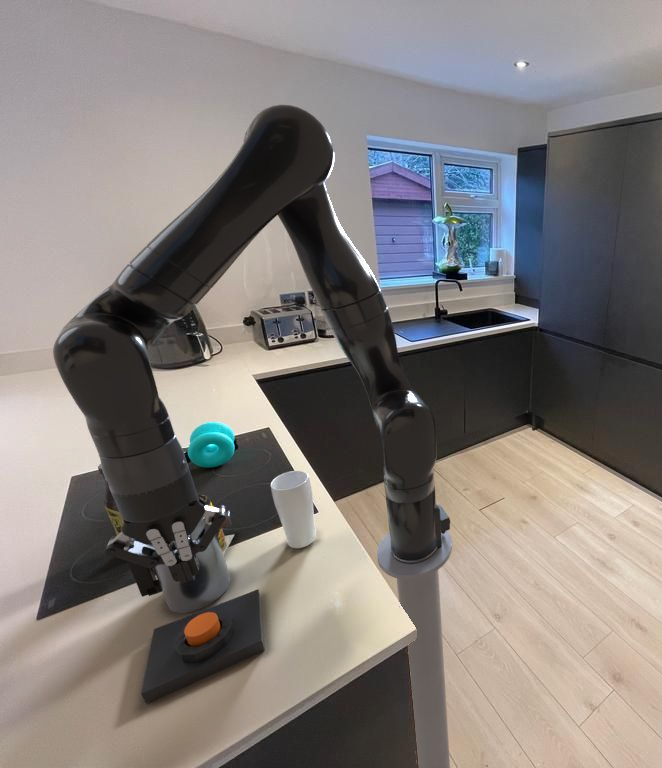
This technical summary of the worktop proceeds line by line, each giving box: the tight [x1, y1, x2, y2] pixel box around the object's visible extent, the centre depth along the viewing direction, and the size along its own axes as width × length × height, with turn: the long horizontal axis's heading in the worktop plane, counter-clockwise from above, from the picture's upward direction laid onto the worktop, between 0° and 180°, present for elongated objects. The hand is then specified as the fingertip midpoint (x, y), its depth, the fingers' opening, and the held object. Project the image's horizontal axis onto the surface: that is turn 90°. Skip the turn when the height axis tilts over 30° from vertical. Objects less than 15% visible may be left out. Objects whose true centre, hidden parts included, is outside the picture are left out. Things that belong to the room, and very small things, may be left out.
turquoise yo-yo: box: [187, 421, 235, 468], centre depth 109 cm, size 10×10×10 cm
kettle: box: [126, 504, 233, 614], centre depth 68 cm, size 14×9×17 cm, turn 123°
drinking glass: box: [269, 470, 317, 549], centre depth 80 cm, size 7×7×15 cm
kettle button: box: [184, 612, 221, 646], centre depth 60 cm, size 4×4×2 cm
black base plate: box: [140, 589, 266, 705], centre depth 61 cm, size 14×11×4 cm
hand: (188, 577), depth 56 cm, fingers closed
